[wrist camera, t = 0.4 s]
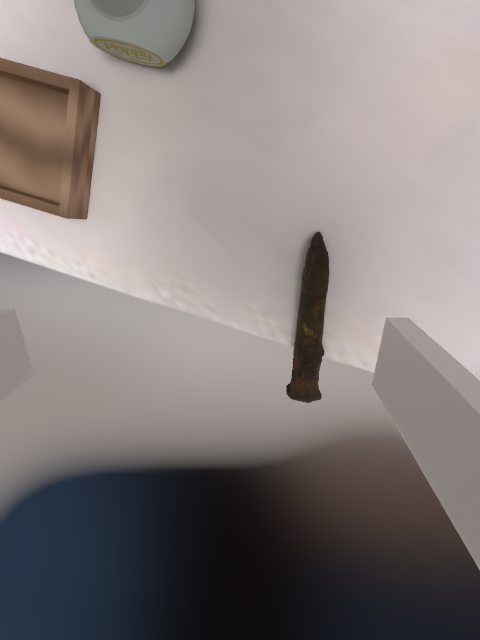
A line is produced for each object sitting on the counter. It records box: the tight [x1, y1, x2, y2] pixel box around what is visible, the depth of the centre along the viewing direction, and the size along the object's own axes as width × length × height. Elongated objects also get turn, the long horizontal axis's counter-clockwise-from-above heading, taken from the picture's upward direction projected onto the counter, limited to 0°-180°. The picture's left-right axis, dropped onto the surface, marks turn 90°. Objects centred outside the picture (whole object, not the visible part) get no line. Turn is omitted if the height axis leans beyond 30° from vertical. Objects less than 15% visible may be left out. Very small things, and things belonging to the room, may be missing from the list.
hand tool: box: [286, 232, 329, 403], centre depth 35 cm, size 19×4×5 cm, turn 176°
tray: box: [0, 58, 101, 219], centre depth 34 cm, size 13×16×4 cm
